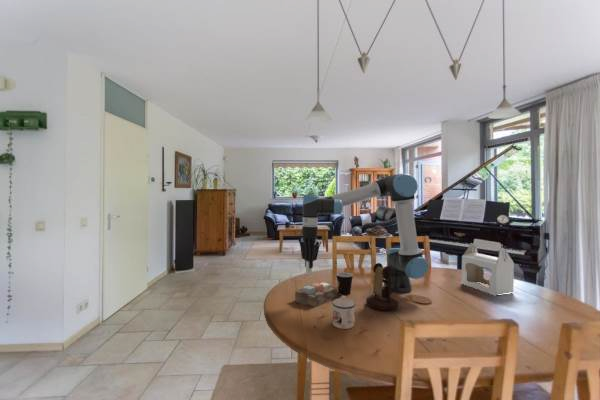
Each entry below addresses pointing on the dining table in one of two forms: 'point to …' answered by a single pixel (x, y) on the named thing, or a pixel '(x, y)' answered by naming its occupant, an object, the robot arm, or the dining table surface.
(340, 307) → the teacup with lid
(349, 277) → the coffee mug
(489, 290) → the gable box
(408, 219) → the robot arm
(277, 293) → the dining table surface
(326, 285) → the cream key
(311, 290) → the grey key
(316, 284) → the terracotta key
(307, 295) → the key box
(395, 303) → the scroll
